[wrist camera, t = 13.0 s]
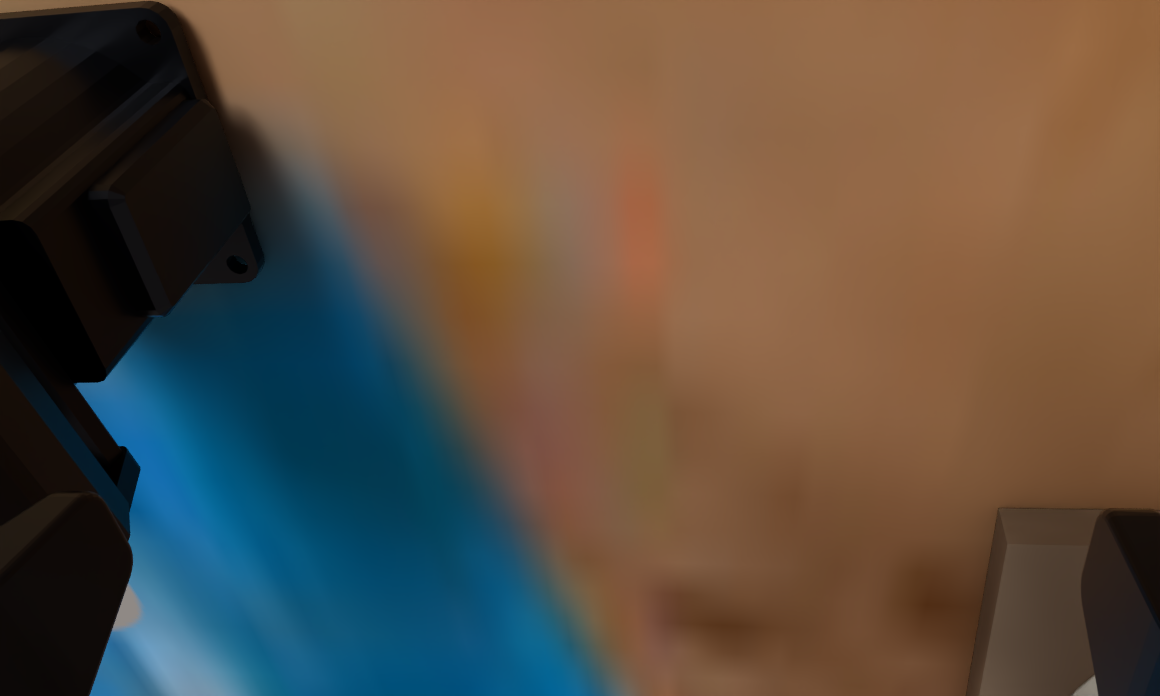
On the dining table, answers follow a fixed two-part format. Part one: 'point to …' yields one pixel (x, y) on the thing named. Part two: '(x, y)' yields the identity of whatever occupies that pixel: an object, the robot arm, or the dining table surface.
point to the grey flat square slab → (1035, 607)
